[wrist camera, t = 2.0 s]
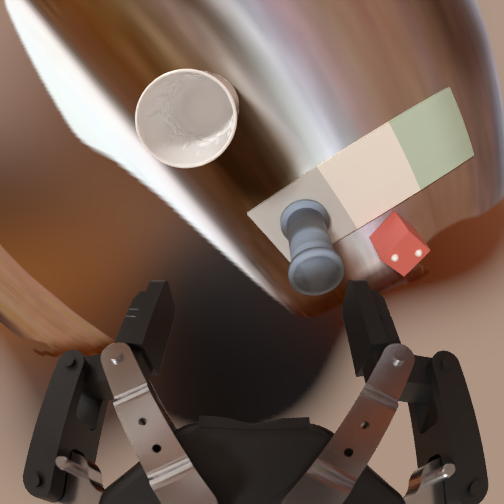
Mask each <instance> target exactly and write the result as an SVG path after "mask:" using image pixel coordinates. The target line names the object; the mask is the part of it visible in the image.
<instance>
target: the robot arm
mask: <svg viewBox="0 0 504 504" xmlns="http://www.w3.org/2000/svg"><path fill="white" fill-rule="evenodd" d="M342 314H343V320H344V324H345V328H346V332H347V336H348V341H349V346H350V350H351V355H352V359H353V364H354V369H355V374H356V377H358V376H364V378H365V383H366V385H365V386H364V388H363V390H362V391H361V393H360V395H359V396H358V398H357V400H356V401H355V403H354V405H353V406H352V408H351V410H350V411H349V413H348V414H347V416H346V417H345V419H344V420H343V422H342V423H341V425H340V427H339V428H338V429H337V431H336V432H335V434H334V433H333V432H331V431H330V430H328V429H326V428H324V427H321V426H318V425H315V424H310V422H309V417H303V418H282V419H278V420H274V421H269V422H265V423H261V424H255V425H252V424H248V423H244V422H240V421H237V420H233V419H229V418H225V417H211V416H199V422H195V423H191V424H188V425H185V426H183V427H181V428H179V429H177V428H176V426H175V425H174V423H173V422H172V420H171V419H170V417H169V415H168V414H167V412H166V410H165V408H164V407H163V405H162V403H161V401H160V400H159V398H158V396H157V394H156V392H155V390H154V388H153V386H152V385H151V383H150V381H149V379H150V376H151V375H153V376H159V374H160V370H161V366H162V362H163V358H164V354H165V350H166V347H167V343H168V340H169V336H170V332H171V329H172V325H173V322H174V318H175V304H174V301H173V297H172V294H171V290H170V287H169V283H168V282H167V281H150V283H149V285H148V287H147V290H146V292H140V293H139V294H138V295H137V296H136V297H135V298H134V299H133V300H132V303H131V305H130V307H129V310H128V312H127V314H126V317H125V319H124V321H123V323H122V326H121V328H120V331H119V333H118V335H117V338H116V340H115V343H113V344H111V345H109V346H107V347H106V348H105V349H104V351H103V352H102V354H99V355H93V356H87V357H84V356H83V355H82V354H81V352H79V351H77V350H70V351H67V352H65V353H64V354H63V355H62V356H61V357H60V358H59V360H58V362H57V365H56V368H55V370H54V372H53V375H52V378H51V380H50V383H49V386H48V389H47V392H46V394H45V397H44V400H43V403H42V406H41V409H40V412H39V415H38V419H37V422H36V426H35V429H34V432H33V436H32V440H31V443H30V447H29V451H28V455H27V460H26V464H25V469H24V474H23V482H24V485H25V488H26V489H27V491H28V492H29V493H30V494H31V495H33V496H35V497H37V498H40V499H43V500H46V501H49V502H52V503H55V504H479V503H480V502H481V501H482V500H483V498H484V497H485V495H486V493H487V490H488V477H487V470H486V465H485V458H484V453H483V447H482V442H481V437H480V433H479V429H478V424H477V420H476V416H475V412H474V409H473V405H472V402H471V398H470V394H469V391H468V388H467V384H466V381H465V378H464V375H463V372H462V369H461V366H460V364H459V361H458V359H457V358H456V356H455V355H454V354H452V353H450V352H448V351H439V352H437V353H436V354H435V355H434V356H433V358H429V357H422V356H417V355H414V354H413V353H412V351H411V350H410V349H409V348H408V347H407V346H405V345H402V344H401V342H400V340H399V337H398V334H397V331H396V329H395V326H394V323H393V320H392V318H391V316H390V313H389V310H388V309H387V305H386V302H385V300H384V298H383V297H382V296H381V295H380V294H379V292H378V291H377V290H373V291H371V290H370V288H369V285H368V282H367V280H366V279H358V280H349V281H348V285H347V289H346V293H345V297H344V301H343V307H342ZM111 399H115V400H114V401H113V404H114V407H115V410H116V412H117V414H118V417H119V419H120V422H121V424H122V426H123V428H124V431H125V433H126V435H127V437H128V439H129V441H130V443H131V445H132V447H133V449H134V451H135V453H136V455H137V457H138V459H139V462H138V463H137V464H136V465H134V466H133V467H132V468H131V469H130V470H128V471H127V472H126V473H125V474H124V475H122V476H121V477H120V478H118V479H117V480H116V481H115V482H113V483H112V484H111V485H110V486H108V487H107V488H106V489H104V488H103V485H102V475H101V471H100V469H99V468H98V466H97V465H96V464H95V461H96V455H97V450H98V445H99V440H100V435H101V430H102V425H103V421H104V417H105V413H106V409H107V405H108V401H109V400H111ZM398 401H403V402H408V406H409V411H410V416H411V422H412V428H413V435H414V441H415V448H416V456H417V465H418V469H417V470H415V471H414V473H413V474H412V475H411V477H410V479H409V486H408V491H407V493H406V495H405V496H404V497H402V496H401V495H400V494H399V493H398V492H397V491H396V490H395V489H394V488H392V487H391V486H390V485H389V484H388V483H387V482H385V480H383V479H382V478H381V477H380V476H379V475H378V474H377V473H376V472H374V471H373V470H372V469H371V468H370V467H369V466H368V465H367V463H368V462H369V460H370V458H371V457H372V455H373V453H374V452H375V450H376V448H377V446H378V445H379V443H380V441H381V439H382V437H383V436H384V434H385V432H386V430H387V428H388V426H389V424H390V422H391V420H392V418H393V416H394V414H395V412H396V410H397V408H398Z"/></svg>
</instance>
